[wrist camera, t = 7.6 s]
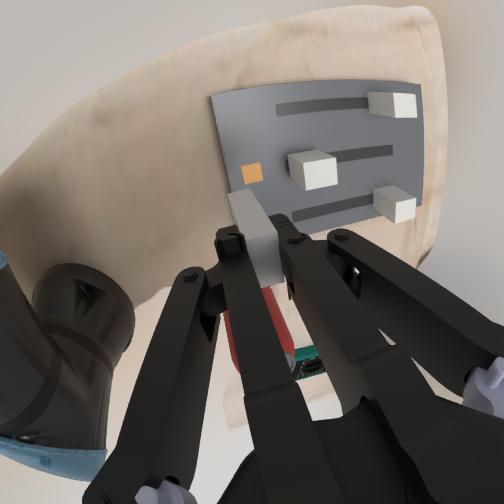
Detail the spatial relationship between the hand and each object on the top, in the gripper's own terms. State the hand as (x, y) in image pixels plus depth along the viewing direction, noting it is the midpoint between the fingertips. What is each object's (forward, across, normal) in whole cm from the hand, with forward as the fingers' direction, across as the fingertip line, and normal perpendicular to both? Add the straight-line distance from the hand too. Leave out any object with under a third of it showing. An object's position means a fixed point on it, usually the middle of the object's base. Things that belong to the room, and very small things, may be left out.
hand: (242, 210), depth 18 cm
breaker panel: (+11, +12, 0) cm, 16 cm away
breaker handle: (+8, +7, 0) cm, 11 cm away
